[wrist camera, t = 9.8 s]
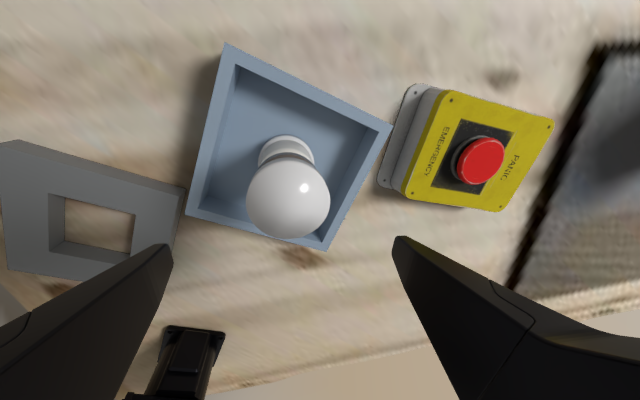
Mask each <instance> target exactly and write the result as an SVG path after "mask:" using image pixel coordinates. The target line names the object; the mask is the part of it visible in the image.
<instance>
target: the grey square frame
mask: <svg viewBox="0 0 640 400" xmlns="http://www.w3.org/2000/svg"><path fill="white" fill-rule="evenodd" d="M185 191H186V189H185V188H181V187H178V186H174V185H171V184H168V183H164V182H161V181H157V180H154V179H151V178H147V177H144V176H140V175H137V174H134V173H130V172H127V171H123V170H120V169H117V168H113V167H110V166H106V165H103V164H100V163H96V162H93V161H89V160H86V159H83V158H79V157H76V156H73V155H69V154H66V153H62V152H59V151H56V150H52V149H49V148H45V147H42V146H39V145H35V144H32V143H28V142H25V141H22V140H13V141H8V142H3V143H0V200H1V209H2V219H3V229H4V238H5V248H6V257H7V267H8V270H15V271H21V272H27V273H33V274H39V275H45V276H52V277H58V278H64V279H70V280H76V281H82V282H85V281H87V280H89V279H90V278H92V277H94V276H96V275H98V274H100V273H102V272H103V271H105V270H107V269H109V268H111V267H113V266H114V265H116V264H118V263H120V262H122V261H124V260H126V259H127V258H129V257H131V256H133V255H135V254H137V253H139V252H140V251H142V250H144V249H146V248H148V247H150V246H151V245H153V244H157V243H167V244H168V245H169V246H170V250H171V253H172V248H173V244H174V240H175V235H176V231H177V226H178V222H179V217H180V213H181V209H182V204H183V200H184V195H185ZM65 197H67V198H71V199H75V200H79V201H83V202H87V203H91V204H95V205H99V206H103V207H107V208H111V209H115V210H119V211H123V212H127V213H131V214H135V215H136V218H135V225H134V232H133V239H132V246H131V253H130V254H127V253H122V252H117V251H112V250H107V249H102V248H97V247H92V246H87V245H82V244H77V243H72V242H67V241H64V228H65Z"/></svg>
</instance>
